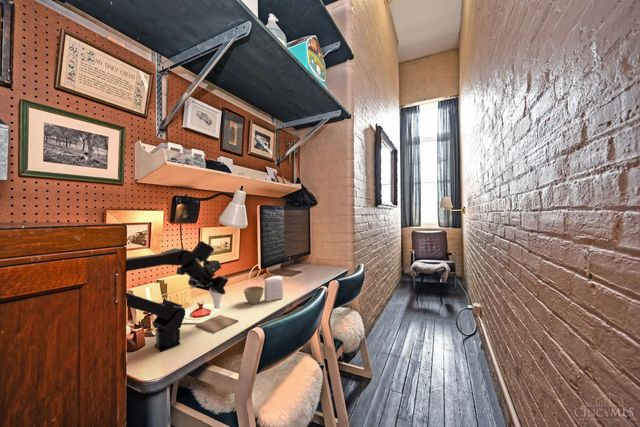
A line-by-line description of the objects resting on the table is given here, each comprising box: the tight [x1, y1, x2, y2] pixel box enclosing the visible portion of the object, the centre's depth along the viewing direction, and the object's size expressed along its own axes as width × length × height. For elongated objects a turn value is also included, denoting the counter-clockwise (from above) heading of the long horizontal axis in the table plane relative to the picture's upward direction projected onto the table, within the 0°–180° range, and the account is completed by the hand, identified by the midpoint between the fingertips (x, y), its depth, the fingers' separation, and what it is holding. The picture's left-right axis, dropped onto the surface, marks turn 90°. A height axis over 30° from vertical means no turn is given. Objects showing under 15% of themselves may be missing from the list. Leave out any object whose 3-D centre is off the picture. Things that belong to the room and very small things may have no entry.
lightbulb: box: [208, 287, 226, 310], centre depth 109 cm, size 6×6×11 cm
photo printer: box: [263, 275, 284, 302], centre depth 138 cm, size 10×4×12 cm, turn 123°
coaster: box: [194, 314, 239, 334], centre depth 108 cm, size 12×12×1 cm
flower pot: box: [243, 285, 265, 305], centre depth 133 cm, size 10×10×7 cm
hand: (219, 292), depth 110 cm, fingers closed on lightbulb, 6 cm apart
